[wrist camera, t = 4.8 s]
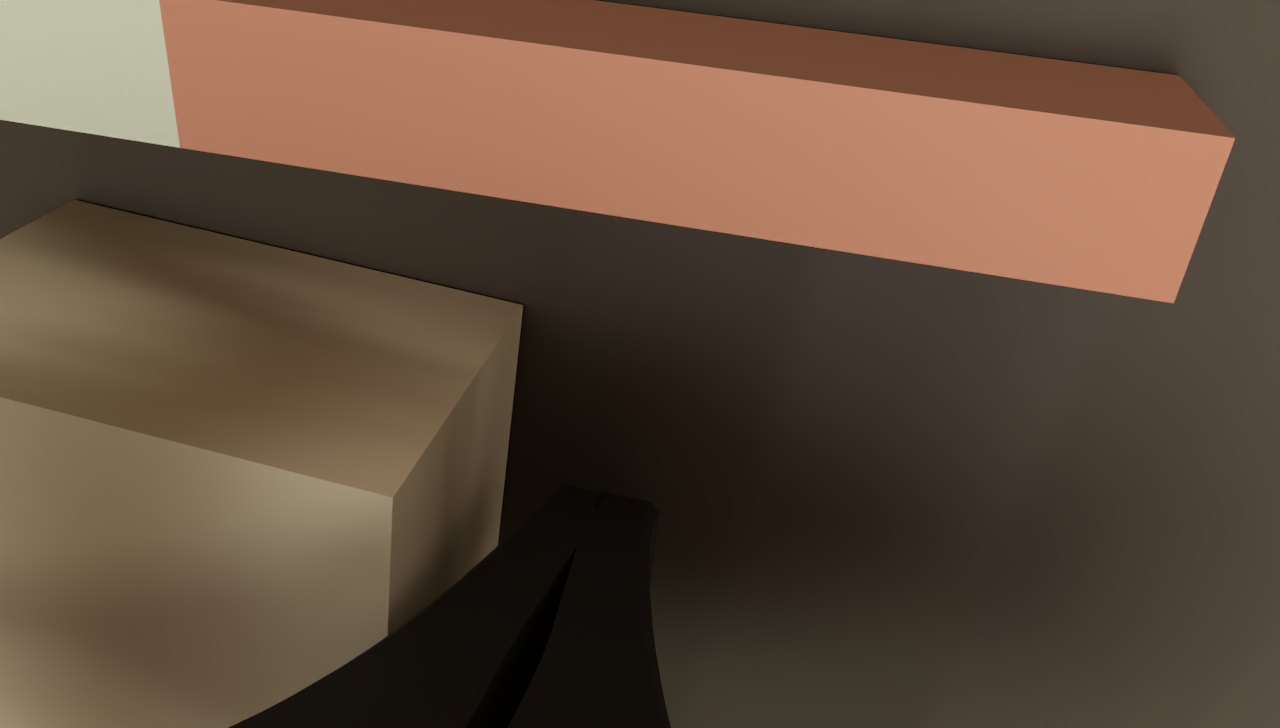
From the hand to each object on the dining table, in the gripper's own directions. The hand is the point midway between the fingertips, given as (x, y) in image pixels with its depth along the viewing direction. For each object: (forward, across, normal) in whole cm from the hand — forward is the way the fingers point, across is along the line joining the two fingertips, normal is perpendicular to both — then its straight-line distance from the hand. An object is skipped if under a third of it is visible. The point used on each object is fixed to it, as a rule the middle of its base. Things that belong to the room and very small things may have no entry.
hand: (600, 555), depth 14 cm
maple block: (+1, +5, 0) cm, 5 cm away
